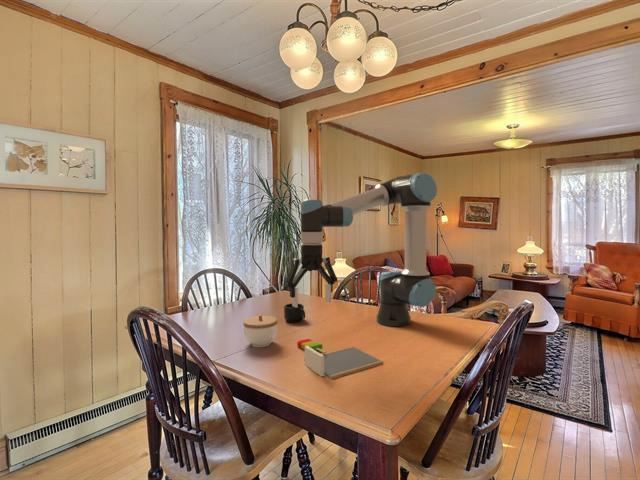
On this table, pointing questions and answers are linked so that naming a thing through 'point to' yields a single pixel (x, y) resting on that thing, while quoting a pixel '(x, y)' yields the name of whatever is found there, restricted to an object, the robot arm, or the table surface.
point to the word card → (314, 360)
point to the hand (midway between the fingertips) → (312, 304)
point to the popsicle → (310, 345)
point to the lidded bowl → (260, 330)
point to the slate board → (347, 362)
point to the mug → (294, 313)
